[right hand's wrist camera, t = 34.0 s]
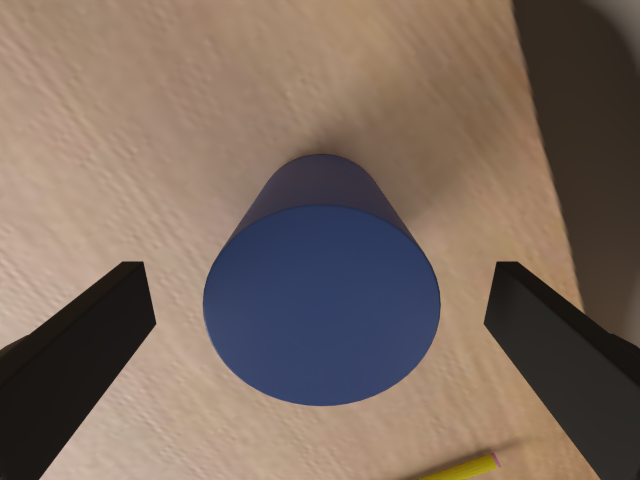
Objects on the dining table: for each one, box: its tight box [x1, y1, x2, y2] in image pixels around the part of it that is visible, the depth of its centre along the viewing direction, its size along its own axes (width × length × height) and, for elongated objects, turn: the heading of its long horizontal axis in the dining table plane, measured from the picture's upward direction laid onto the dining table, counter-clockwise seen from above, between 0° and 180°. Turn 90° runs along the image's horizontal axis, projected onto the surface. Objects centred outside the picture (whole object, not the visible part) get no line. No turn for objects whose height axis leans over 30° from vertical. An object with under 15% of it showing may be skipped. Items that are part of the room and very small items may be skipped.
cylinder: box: [203, 154, 441, 406], centre depth 15 cm, size 8×8×10 cm
